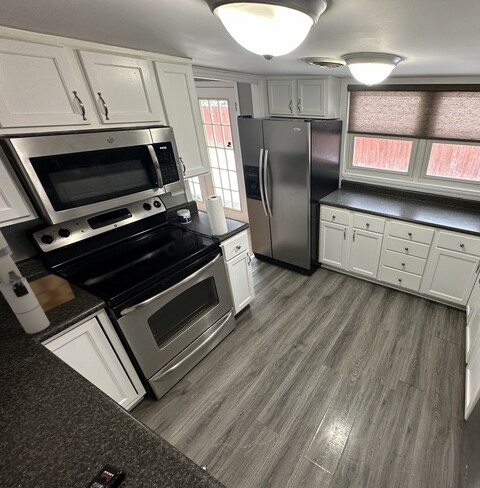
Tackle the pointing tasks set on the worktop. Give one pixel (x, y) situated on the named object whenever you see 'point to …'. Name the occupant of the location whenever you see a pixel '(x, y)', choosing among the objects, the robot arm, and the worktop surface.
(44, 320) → the cylindrical container
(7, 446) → the worktop surface
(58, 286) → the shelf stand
